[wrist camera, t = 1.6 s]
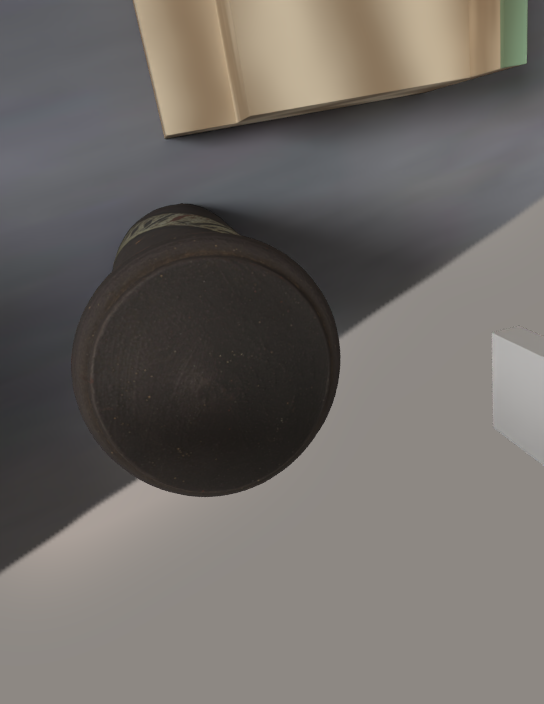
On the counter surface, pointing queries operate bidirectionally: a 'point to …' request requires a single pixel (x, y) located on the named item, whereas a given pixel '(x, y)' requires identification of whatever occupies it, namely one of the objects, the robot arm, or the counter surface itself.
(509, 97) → the counter surface
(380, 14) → the stand
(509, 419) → the robot arm
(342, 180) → the counter surface
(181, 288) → the container
